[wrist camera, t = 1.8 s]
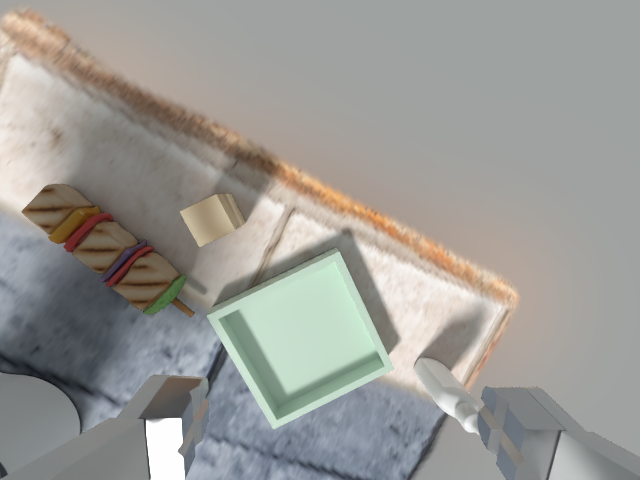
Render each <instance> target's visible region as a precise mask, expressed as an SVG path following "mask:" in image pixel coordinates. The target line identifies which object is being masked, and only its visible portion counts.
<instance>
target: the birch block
mask: <svg viewBox="0 0 640 480" xmlns="http://www.w3.org/2000/svg"><path fill="white" fill-rule="evenodd" d="M179 212H180V214H181V216H182V217H183V219H184V221H185V223H186V224H187V226H188V228H189V230H190V232H191V233H192V235H193V237H194V239H195V240H196V242H197V244H198V246H199V247H201V246H203V245H206V244H208V243H210V242H212V241H214V240H216V239H218V238H220V237H222V236H224V235H226V234H229V233H231V232H233V231H235V230H236V229H238V228H239V227H240V226H242V225H243V224H245V223H246V221H245V219H244V217H243V215H242V214H241V212H240V210H239V208H238V206H237V204H236V202H235V200H234V198H233V196H232V194H215V195H213V196H211V197H209V198H207V199H205V200H203V201H201V202H198V203H196V204H194V205H192V206H190V207H188V208H186V209H184V210H182V211H179Z"/></svg>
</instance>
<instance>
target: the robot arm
mask: <svg viewBox="0 0 640 480" xmlns="http://www.w3.org/2000/svg"><path fill="white" fill-rule="evenodd" d="M208 390H209V389H208V379H207V378H206V377H195V376H177V375H172V376H170V375H153V376H150V377H149V378H148V380H147V381H146V382H145V383H144V384H143V386H142V387H141V388H140V389H139V391H138V392H137V393H136V394H135V395H134V397H133V398H132V399H131V400H130V401H129V403H128V404H127V405H126V406H125V408H124V409H123V410H122V411H121V412H120V414H119V415H118V416H117V417H116V418H109V419H107V420H105V421H104V422H102V423H100V424H98V425H96V426H95V427H93V428H91V429H89V430H88V431H86V432H84V433H82V434H80V421H79V416H78V413H77V411H76V408H75V407H74V405H73V403H72V402H71V400H70V399H69V398H68V397H67V396H66V395H65V394H64V393H63V392H62V391H61V390H60V389H58V388H57V387H55V386H54V385H52V384H50V383H48V382H46V381H44V380H41V379H39V378H35V377H31V376H26V375H15V374H6V373H2V372H0V480H185V478H186V476H187V474H188V471H189V469H190V467H191V465H192V462H193V460H194V458H195V446H196V445H197V444H198V443H200V442H201V441H202V439H203V436H204V434H205V431H206V427H207V423H208V418H209V402H208V401H207V400H206V399H205V396H206V394H207V392H208ZM481 399H482V401H483V402H484V404H485V405H484V406H483V407H482V408H481V409H480V410H479V412H478V419H477V424H478V430H479V434H480V436H481V439H482V441H483V443H484V445H485V446H486V448H487V449H488V450H490V451H491V452H492V453H493V454H495V455H496V456H497V463H496V464H497V466H498V467H499V469H500V470H501V472H502V474H503V475H504V477H505V478H506V480H640V457H639V456H637V455H635V454H633V453H631V452H629V451H627V450H626V449H624V448H622V447H620V446H618V445H616V444H615V443H613V442H611V441H609V440H607V439H605V438H603V437H601V436H599V435H598V434H596V433H594V432H587V431H586V430H584V429H583V428H582V426H580V425H579V424H578V423H577V422H576V421H575V420H574V419H573V418H572V417H571V416H570V415H569V414H568V413H567V412H566V411H565V410H564V409H563V408H561V407H560V406H559V405H558V404H557V403H556V402H555V401H554V400H553V399H552V398H551V397H550V396H549V395H548V394H547V393H546V392H545V391H544V390H542V389H540V388H538V387H487V386H486V387H485V388H484V390H483V391H482V397H481ZM79 434H80V435H79Z"/></svg>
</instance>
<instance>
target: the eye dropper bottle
mask: <svg viewBox="0 0 640 480" xmlns="http://www.w3.org/2000/svg"><path fill="white" fill-rule="evenodd" d="M413 370H414V373H415V374H416V375H417V377H418V378H419V380H420V381H421V382H422V384H423V385H424V387H425V388H426V390H427V391H428V392H429V394H430V395H431V397H432V398H433V399H434V401H435V402H436V403H437V405H438V406H439V407H440V408H441V409H442V410H443V411H445V412H446V413H447V414H449V415H451V416H453V417H455V418H457V419H458V421H459V422H460V424H461V425H462V426H463V428H464V429H465V430H466V431H467V432H471V433H473V432H476V433H477V434H478V435H480V434H479V430H478V424H477V419H478V412H477V409H478V403H477V401H476V400H475V399H474V397H473V396H472V395H471V394H470V393H469V392H468V391H467V389H466V388H465V387H464V386H463V385H462V384H461V383H460V382H459V381H458V379H457V378H456V377H455V376H454V375H453V374H452V373H451V372H450V371H449V370H448V368H447V367H446V366H444V365H443V364H442V363H440V362H439V361H437V360H434V359H431V358H419V359H418V361H417V362H416V364H415V366H414V368H413Z"/></svg>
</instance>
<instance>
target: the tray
mask: <svg viewBox="0 0 640 480" xmlns="http://www.w3.org/2000/svg"><path fill="white" fill-rule="evenodd" d="M207 317H208V319H209V321H210V323H211V324H212V326H213V328H214V329H215V331H216V333H217V334H218V336H219V338H220V340H221V341H222V343H223V345H224V346H225V348H226V350H227V351H228V353H229V355H230V357H231V358H232V360H233V362H234V363H235V365H236V367H237V368H238V370H239V372H240V374H241V375H242V377H243V379H244V380H245V382H246V384H247V385H248V387H249V389H250V390H251V392H252V394H253V396H254V397H255V399H256V401H257V402H258V404H259V406H260V407H261V409H262V411H263V413H264V414H265V416H266V418H267V419H268V421H269V423H270V424H271V426H272V428H273V430H274V429H276V428H278V427H280V426H282V425H284V424H286V423H288V422H290V421H292V420H294V419H296V418H298V417H300V416H302V415H303V414H305V413H307V412H309V411H311V410H313V409H315V408H317V407H319V406H321V405H323V404H325V403H327V402H329V401H331V400H333V399H335V398H337V397H339V396H341V395H343V394H345V393H347V392H349V391H351V390H353V389H355V388H357V387H359V386H361V385H363V384H365V383H367V382H369V381H371V380H373V379H375V378H377V377H379V376H381V375H383V374H385V373H387V372H389V371H391V370H393V369H394V367H393V365H392V363H391V361H390V358H389V356H388V354H387V352H386V350H385V348H384V346H383V344H382V341H381V339H380V337H379V335H378V333H377V331H376V329H375V326H374V324H373V322H372V320H371V318H370V316H369V314H368V311H367V309H366V307H365V305H364V303H363V301H362V299H361V297H360V294H359V292H358V290H357V288H356V286H355V284H354V282H353V279H352V277H351V275H350V273H349V271H348V269H347V267H346V264H345V262H344V260H343V258H342V256H341V254H340V252H339V250H338V249H337V248H336V247H335V248H332V249H330V250H328V251H326V252H324V253H322V254H320V255H318V256H316V257H314V258H312V259H310V260H308V261H306V262H304V263H302V264H300V265H297V266H295V267H293V268H291V269H289V270H287V271H285V272H283V273H281V274H279V275H277V276H275V277H273V278H271V279H269V280H267V281H265V282H262V283H260V284H258V285H256V286H254V287H252V288H250V289H248V290H246V291H244V292H242V293H240V294H238V295H236V296H234V297H232V298H230V299H227V300H225V301H223V302H221V303H219V304H217V305H215V306H213V307H212V308H211V310H210V311H209V313H208V315H207Z"/></svg>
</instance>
